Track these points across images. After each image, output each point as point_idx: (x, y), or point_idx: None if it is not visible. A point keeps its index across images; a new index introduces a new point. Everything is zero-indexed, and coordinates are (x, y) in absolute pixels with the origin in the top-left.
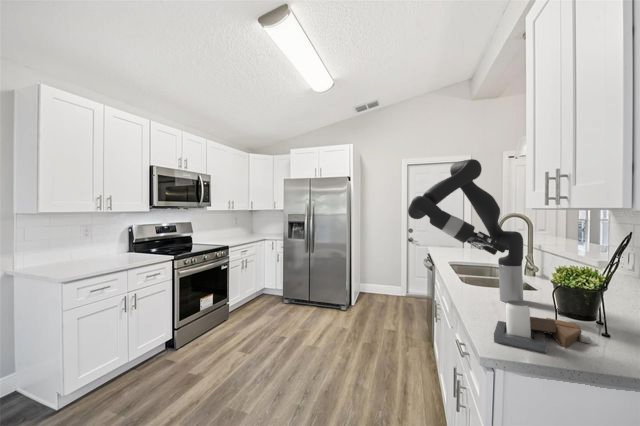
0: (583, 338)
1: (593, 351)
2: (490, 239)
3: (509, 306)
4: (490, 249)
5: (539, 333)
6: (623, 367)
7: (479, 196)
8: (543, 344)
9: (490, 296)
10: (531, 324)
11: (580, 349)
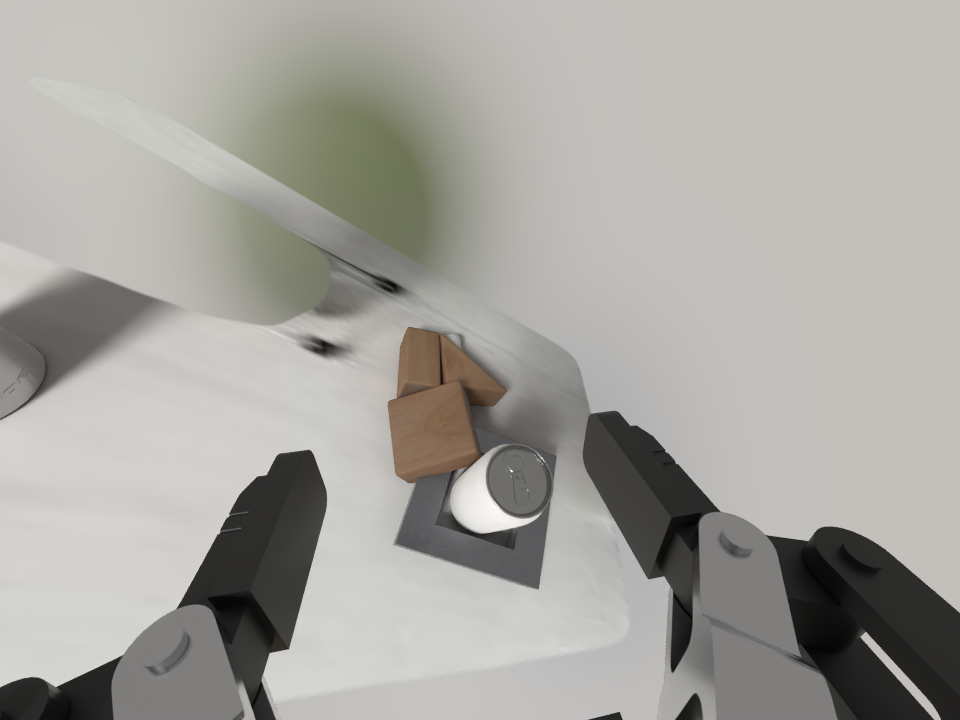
0: (461, 348)
1: (494, 358)
2: (791, 626)
3: (537, 516)
4: (293, 547)
5: (481, 440)
6: (547, 350)
7: None
8: (555, 459)
9: None
10: (480, 451)
11: (493, 377)
